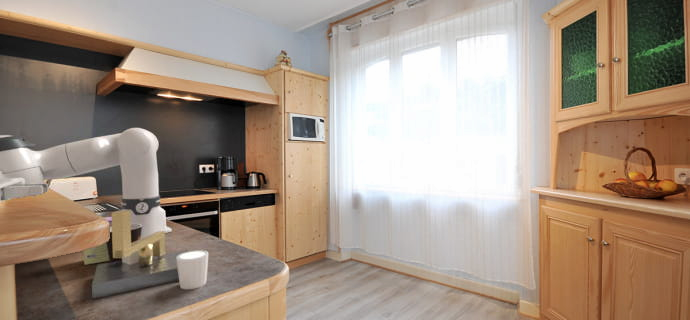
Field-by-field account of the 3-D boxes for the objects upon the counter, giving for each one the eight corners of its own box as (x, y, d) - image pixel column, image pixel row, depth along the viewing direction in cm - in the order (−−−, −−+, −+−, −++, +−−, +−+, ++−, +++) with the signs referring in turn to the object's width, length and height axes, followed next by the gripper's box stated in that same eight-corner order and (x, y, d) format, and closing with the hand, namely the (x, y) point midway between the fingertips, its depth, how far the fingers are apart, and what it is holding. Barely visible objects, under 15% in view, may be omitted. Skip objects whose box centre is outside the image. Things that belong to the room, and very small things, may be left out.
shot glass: (188, 293, 69) (187, 261, 69) (170, 286, 73) (170, 256, 72) (215, 281, 75) (214, 252, 75) (198, 275, 79) (197, 248, 78)
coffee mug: (123, 270, 82) (122, 232, 82) (96, 267, 84) (95, 230, 84) (158, 255, 94) (157, 222, 93) (134, 253, 95) (133, 220, 95)
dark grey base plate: (97, 276, 78) (97, 264, 78) (186, 260, 89) (186, 249, 89) (92, 298, 67) (91, 285, 66) (195, 276, 78) (195, 264, 78)
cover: (122, 261, 80) (121, 250, 80) (138, 257, 83) (138, 245, 83) (130, 264, 78) (129, 252, 78) (147, 259, 81) (146, 248, 81)
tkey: (156, 254, 85) (155, 200, 84) (167, 254, 85) (166, 200, 84) (112, 279, 69) (110, 212, 68) (126, 279, 69) (123, 212, 68)
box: (130, 252, 96) (128, 214, 96) (130, 257, 91) (128, 217, 91) (86, 259, 90) (84, 218, 90) (84, 265, 86) (82, 222, 85)
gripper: (-37, 204, 63) (56, 197, 71) (-97, 224, 46) (33, 213, 54) (-38, 172, 63) (54, 169, 71) (-100, 182, 46) (31, 176, 54)
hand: (45, 188), depth 62 cm, fingers open, 3 cm apart
